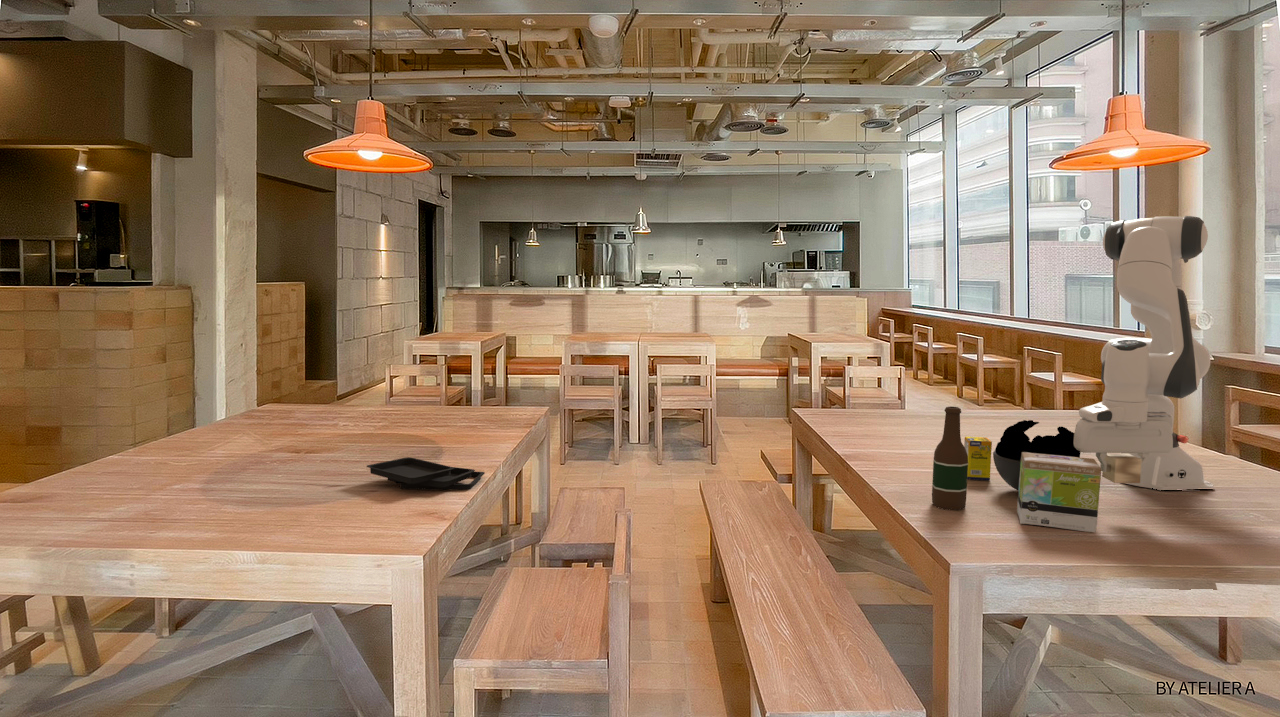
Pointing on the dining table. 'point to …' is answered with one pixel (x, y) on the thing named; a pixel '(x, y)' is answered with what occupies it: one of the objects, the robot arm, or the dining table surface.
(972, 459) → the supplement box
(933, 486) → the beer bottle
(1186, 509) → the dining table surface
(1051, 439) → the coal bowl
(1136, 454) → the robot arm
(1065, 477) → the tea box
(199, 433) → the dining table surface
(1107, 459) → the oak block
